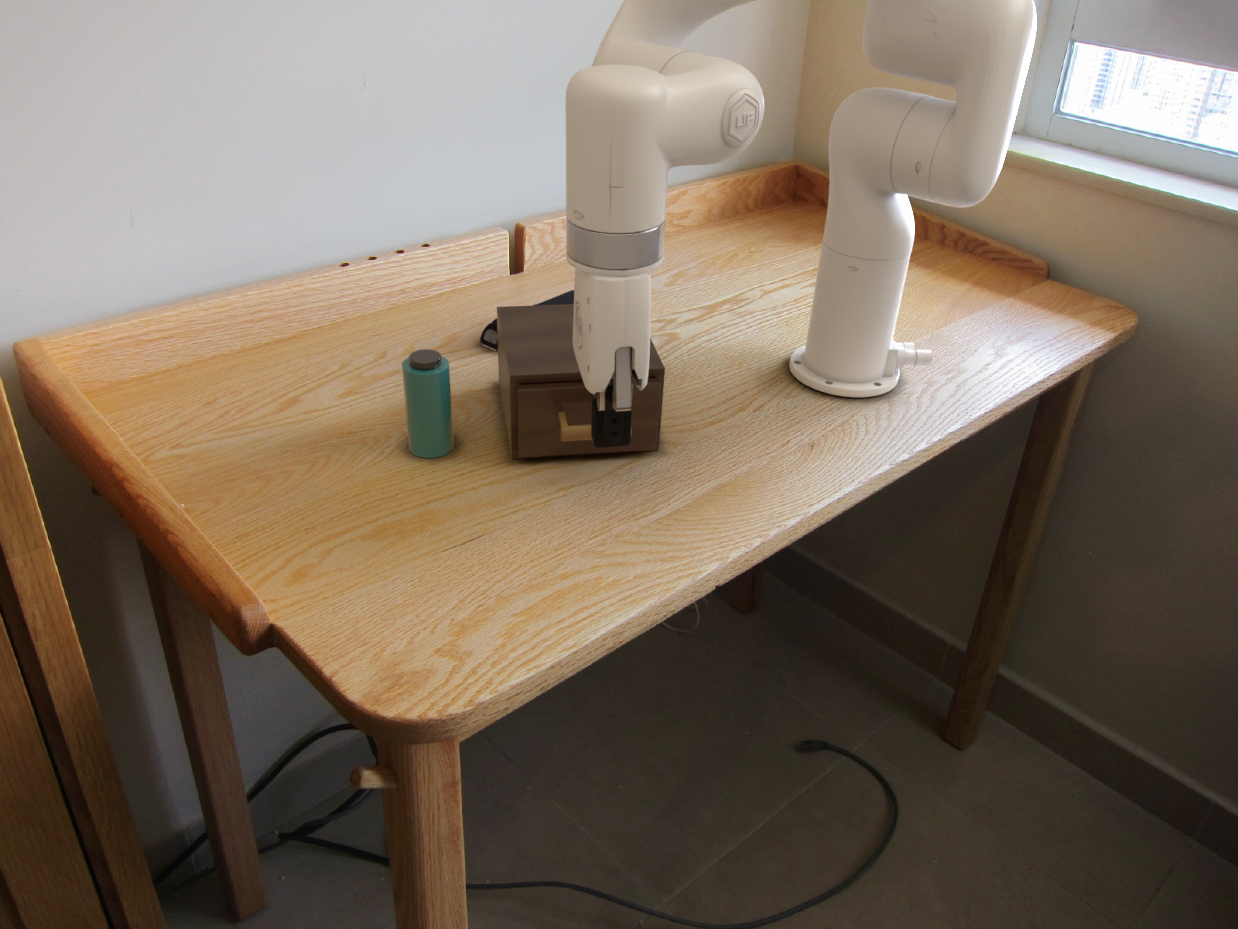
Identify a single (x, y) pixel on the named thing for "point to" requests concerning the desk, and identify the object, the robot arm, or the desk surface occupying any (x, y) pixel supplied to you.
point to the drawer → (577, 419)
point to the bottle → (428, 403)
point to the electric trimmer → (490, 332)
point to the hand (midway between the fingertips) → (610, 441)
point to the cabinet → (544, 359)
